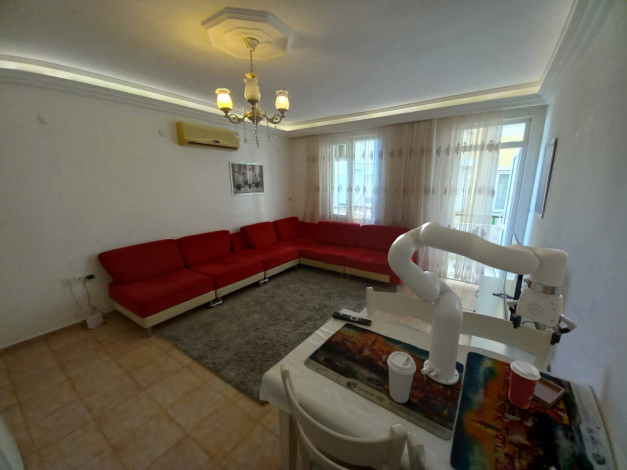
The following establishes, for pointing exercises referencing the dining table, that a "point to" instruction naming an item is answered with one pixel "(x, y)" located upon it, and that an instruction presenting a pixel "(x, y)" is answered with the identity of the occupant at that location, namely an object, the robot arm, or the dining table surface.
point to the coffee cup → (400, 375)
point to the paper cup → (522, 383)
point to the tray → (546, 392)
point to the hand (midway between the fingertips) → (534, 335)
